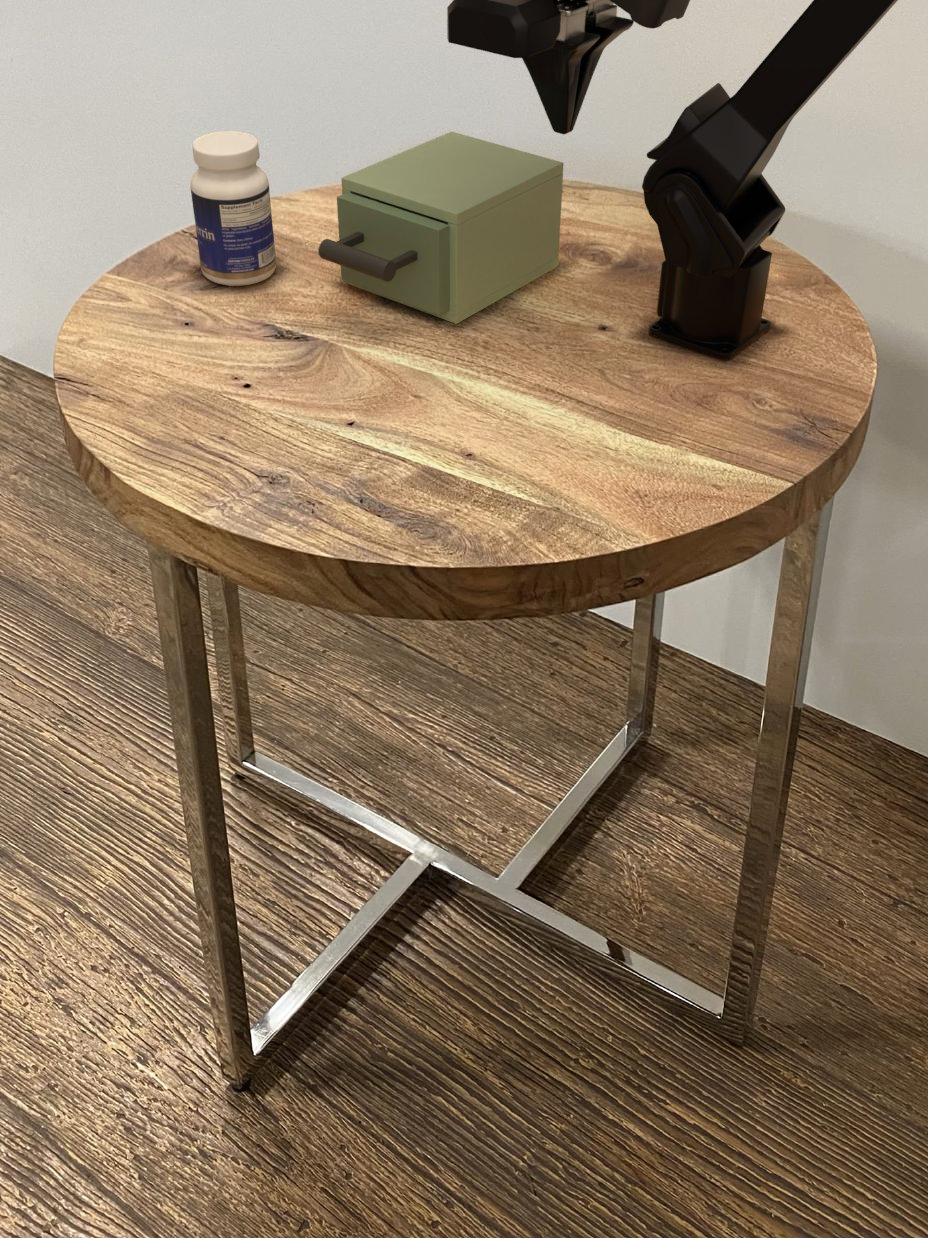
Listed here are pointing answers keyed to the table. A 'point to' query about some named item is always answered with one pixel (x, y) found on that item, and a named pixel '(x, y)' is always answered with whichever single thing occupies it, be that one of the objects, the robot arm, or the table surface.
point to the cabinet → (476, 212)
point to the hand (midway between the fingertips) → (562, 132)
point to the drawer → (392, 252)
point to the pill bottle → (232, 209)
